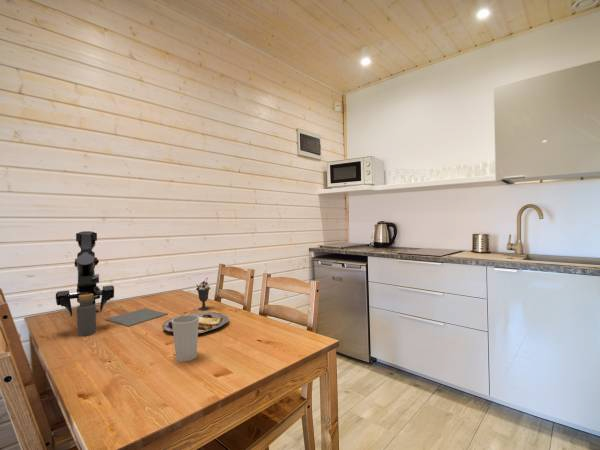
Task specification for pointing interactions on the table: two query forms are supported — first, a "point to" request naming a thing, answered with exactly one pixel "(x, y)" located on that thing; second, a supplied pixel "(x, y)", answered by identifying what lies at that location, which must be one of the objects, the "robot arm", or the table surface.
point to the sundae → (203, 293)
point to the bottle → (86, 315)
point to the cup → (185, 337)
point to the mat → (136, 317)
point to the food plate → (202, 321)
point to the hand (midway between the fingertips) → (86, 313)
